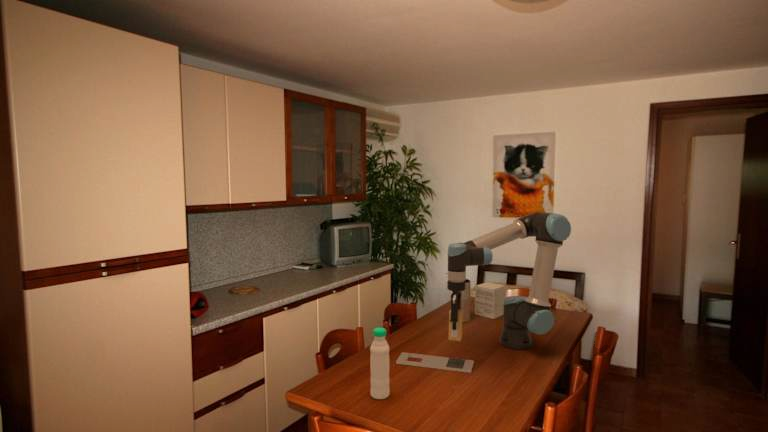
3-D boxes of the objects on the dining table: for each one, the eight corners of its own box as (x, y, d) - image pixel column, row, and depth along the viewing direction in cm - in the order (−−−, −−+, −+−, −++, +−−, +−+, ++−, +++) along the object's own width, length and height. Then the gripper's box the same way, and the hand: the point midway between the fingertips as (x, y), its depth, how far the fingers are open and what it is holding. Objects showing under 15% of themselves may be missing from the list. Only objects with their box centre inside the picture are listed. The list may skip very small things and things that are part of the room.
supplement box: (486, 309, 268) (486, 281, 267) (505, 314, 259) (506, 285, 257) (474, 314, 259) (474, 285, 257) (493, 319, 249) (494, 289, 248)
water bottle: (369, 391, 164) (369, 326, 162) (388, 390, 164) (388, 325, 163) (370, 400, 157) (370, 332, 155) (390, 399, 157) (390, 332, 156)
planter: (473, 319, 249) (473, 280, 247) (463, 323, 242) (464, 283, 240) (458, 315, 256) (459, 277, 254) (448, 319, 249) (449, 280, 247)
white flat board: (473, 363, 189) (473, 360, 189) (471, 372, 179) (471, 369, 179) (402, 354, 198) (402, 352, 198) (396, 363, 189) (396, 360, 189)
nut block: (462, 337, 187) (462, 309, 186) (460, 341, 182) (461, 313, 181) (450, 335, 188) (450, 308, 187) (448, 339, 184) (449, 311, 183)
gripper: (450, 275, 193) (449, 327, 195) (443, 284, 176) (443, 340, 178) (467, 276, 191) (466, 328, 192) (462, 285, 174) (461, 342, 175)
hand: (455, 334), depth 185 cm, fingers closed on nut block, 5 cm apart
